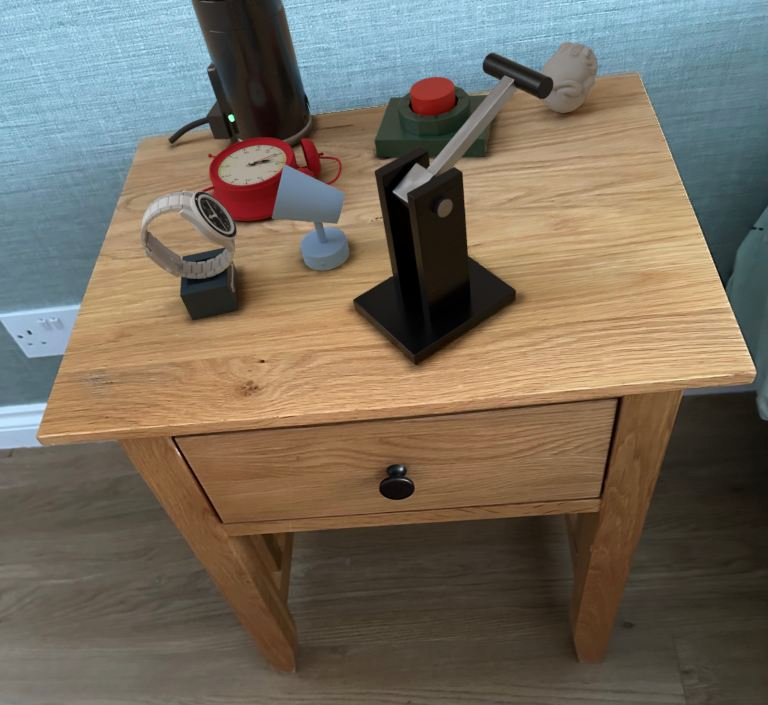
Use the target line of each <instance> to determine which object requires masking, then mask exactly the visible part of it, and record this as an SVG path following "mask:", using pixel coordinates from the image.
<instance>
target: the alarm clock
mask: <svg viewBox="0 0 768 705" xmlns="http://www.w3.org/2000/svg"><path fill="white" fill-rule="evenodd" d="M300 145H301V150H302V153H303V156H304V158H303V159H304V161H305V164H306V165H304V166H299V164H298V162H297V156H296V154H295V152H294V150H293V149H292V146H289V145H288V144H287V143H286V142H284V141H282V140H279V139H275V138H267V137H263V138H253V139H248V140H244V141H241V142H238V143H235V144H233V145H232V144H231V145H229V146H228V147H225V148H224V149H223V150H221V151H220V152H218V153H217V154H216V155H213V154H212V153H207V154H208V155H207V157H208V158H209V159H211V158H212V160H211V162H210V164H209V167H208V176H209V180H210V183H211V186H209V187H206V188H203V189H202V190H200V191H203V192H206V193H207V192H210V191H212V194H211V195H212V196H213V197H215V198H216V199H217V200H218V201H220V202H221V203H222V204H223V205H224V207H225V208H226V209H227V210H228V212H229V213H230V214H231V216H232V218H233V220H234V221H245V222H246V221H247V222H249V221H250V222H251V221H259V220H264V219H268V218H272V216H273V211H274V207H275V202H276V198H277V193H278V189H279V184H280V180H281V176H282V171H283V167H284V164H285V165H287V166H289V167H291V168H294V169H296V170H298V171H300V172H302V173H304V174H306V175H308V176H310V177H313V178H315V179H316V178H317V177H319V176H320V175H321V172H322V164H321V160H334V161H335V162H338V166H339V167H338V172H337V175H336V176H335V177H334V178H333V179H332V180H330V181H327V182H326V183H325V182H324V183H325V184H327V185H329V186H331V185H333V184H334V183H335V182H337V180H338V179H339V178H340V176H341V174H342V170H343V167H342V166H343V164H342V162H341V159H339V158H338V157H335V156H324V154H325V153H324V151H321V152H318V149H317V147H316V144H315V143H314V141H312V140H311V139H310V138H307V137H305V138H304V139H301V140H300Z"/></svg>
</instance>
